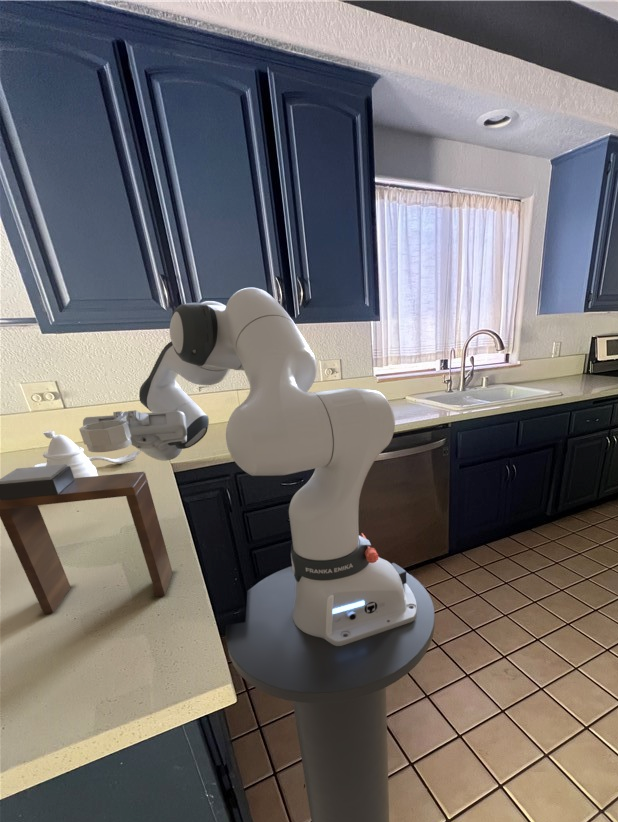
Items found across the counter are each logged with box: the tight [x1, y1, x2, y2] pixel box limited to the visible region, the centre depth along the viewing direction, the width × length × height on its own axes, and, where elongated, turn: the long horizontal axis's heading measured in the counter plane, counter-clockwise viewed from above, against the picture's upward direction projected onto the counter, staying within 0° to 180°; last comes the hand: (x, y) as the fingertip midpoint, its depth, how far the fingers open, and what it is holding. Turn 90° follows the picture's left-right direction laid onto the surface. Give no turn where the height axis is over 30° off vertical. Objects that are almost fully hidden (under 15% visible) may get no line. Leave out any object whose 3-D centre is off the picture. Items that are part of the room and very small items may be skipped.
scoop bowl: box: [78, 410, 132, 453], centre depth 83 cm, size 7×19×4 cm, turn 15°
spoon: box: [32, 450, 141, 467], centre depth 149 cm, size 9×32×4 cm, turn 107°
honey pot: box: [42, 430, 99, 478], centre depth 128 cm, size 13×13×18 cm
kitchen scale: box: [0, 464, 75, 500], centre depth 70 cm, size 8×7×3 cm
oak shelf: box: [0, 471, 174, 615], centre depth 77 cm, size 20×8×22 cm, turn 104°
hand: (124, 414), depth 88 cm, fingers closed on scoop bowl
